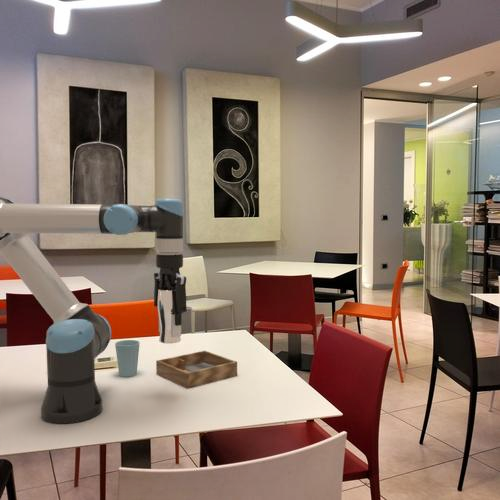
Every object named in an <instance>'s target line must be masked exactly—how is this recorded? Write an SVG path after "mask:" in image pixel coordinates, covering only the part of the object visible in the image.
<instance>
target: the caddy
mask: <svg viewBox="0 0 500 500" xmlns="http://www.w3.org/2000/svg"><path fill="white" fill-rule="evenodd" d="M155 364H156V366H155V367H156V368H155V370H156V375H157V376H159V377H162V378H164V379H166V380H168V381H170V382H172V383H174V384H177V385H179V386H180V387H182V388H185V389H192V388H194V387H198V386H199V387H200V386H202V385H207V384H211V383H214V382H218V381H222V380H227V379H229V378H233V377H238V361H236V360H233V359H230V358H227V357H224V356H221V355H220V354H216V353H213V352H210V351H207V350H201V351H197V352H196V351H195V352H190V353H186V354H181V355H177V356H172V357H167V358H162V359H158V360H156V362H155Z"/></svg>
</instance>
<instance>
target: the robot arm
mask: <svg viewBox="0 0 500 500" xmlns="http://www.w3.org/2000/svg"><path fill="white" fill-rule="evenodd" d="M183 207H184V206H183V202H182V200H181V199H179V198H157V199H156V200H155V204H153V205H135V204H134V205H133V204H132V205H131V204H126V203H124V204H123V203H116V204H98V203H97V204H95V203H94V204H93V203H92V204H91V203H89V204H87V203H86V204H85V203H83V204H82V203H79V204H78V203H76V204H75V203H17V202H15V201H13V200H11V199H9V198H6V197H3V196H2V197H1V196H0V254H1V255H2V256H3V258H4V259H5V260H6V262H7V263H8V264H9V266H10V267H12V269H13V271H14V272H15V273H16V274H17V275H18V277H19V278H20V279H21V281H22V282H23V284H24V285H25V286H26V287H27V289H28V290H29V291H30V292H31V294H32V296H34V297H35V299H36V300H37V301H38V303H39V304H40V305H41V307H42V308H43V309H44V310H45V312H46V313H47V315H49V317H50V318H51V319H52V321H53V323H52V325H50V326H49V327H48V329H47V330H46V338H45V346H46V369H47V370H46V375H47V376H46V377H47V387H46V391H45V394H44V397H43V399H42V404H41V408H40V413H41V419H42V420H44V421H45V422H48V423H51V424H52V423H53V424H72V423H73V424H74V423H79V422H83V421H86V420H89V419H92V418H95V417H97V416H98V415H100V413H102V412H103V400H102V398H103V397H101V393H100V390H99V389H98V385H97V383H96V373H95V372H96V371H95V370H96V369H95V368H96V367H95V366H96V365H95V364H96V363H95V359H96V358H97V357H98V356H100V355H101V353H103V352H104V351H105V350H106V348H107V347H108V345H109V343H110V341H111V339H112V328H111V325H110V323H109V321H108V320H107V319H106V318H105V317H104V316H102V315H100V314H97V313H95V311H94V310H93V308H91V306H90V305H89V304H88V303H82V302H80V301H79V299H77V297H76V296H75V294H74V293H73V292H72V290H71V289H70V287H68V286H67V284H66V283H65V281H63V279H62V277H61V276H60V275H59V274H58V272H57V271H56V270H55V268H54V267H53V266H52V265H51V263H50V262H49V261H48V260H47V258H46V257H45V255H44V254H43V253H42V252H41V250H40V249H39V248H38V247H37V246H36V244H35V243H34V242H33V240H32V239H31V237H30V235H29V234H81V235H82V234H86V235H87V234H88V235H89V234H90V235H91V234H104V235H118V236H121V235H123V236H125V235H129V234H132V233H155V252H156V253H157V254H156V255H155V264H156V265H155V266H156V268H158V269H159V272H154V273H153V277H154V293H153V295H154V296H153V306H154V307H156V308H157V310H158V289H159V288H161V290H176V293H174V292H173V291H172V308H173V312H172V313H171V337H179V336H180V337H181V336H182V324H183V323H182V315H183V313H186V312H187V292H186V291H187V290H186V288H187V287H186V284H187V276H182V275H181V271H180V269H181V268H182V267H183V266H184V254H181V253H182V252H184V210H183V209H184V208H183ZM160 332H161V326H160V320H159V319H158V333H159V334H160Z"/></svg>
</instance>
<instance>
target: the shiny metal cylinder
mask: <svg viewBox="0 0 500 500" xmlns="http://www.w3.org/2000/svg"><path fill="white" fill-rule="evenodd" d="M172 291H173V292H174V293H176V290H161V288H159V289H158V301H157V302H158V309H157V312H158V314H157V315H158V321H159V320H160V326H161V332H160V333H159V339H158V341H159V343H162V344H178V343H179V342H181V340H182V339H181V338H182V337H181V336H179V337H171V313H172V312H173V308H172Z"/></svg>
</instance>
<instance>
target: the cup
mask: <svg viewBox="0 0 500 500" xmlns="http://www.w3.org/2000/svg"><path fill="white" fill-rule="evenodd" d="M140 344H141V343H140V340H135V339H124V340H123V339H122V340H120V341H116V342H115V343H114V346H115V353H116V354H115V355H116V360H117V361H116V362H117V367H118V368H117V369H118V374H119V376H120V377H123V378H130V377H134V376H136V375H137V373H138V363H139V354H140V353H139V352H140Z"/></svg>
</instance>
